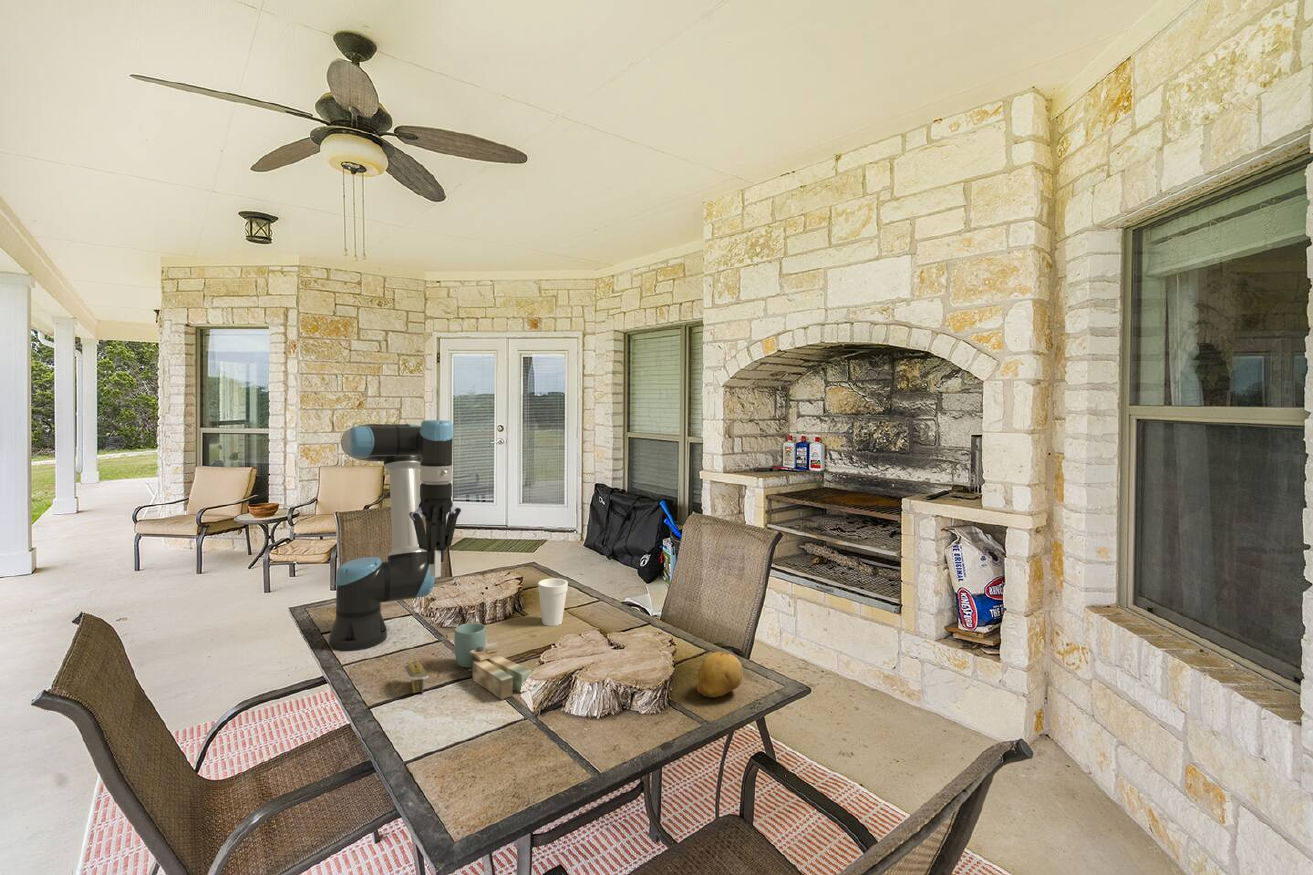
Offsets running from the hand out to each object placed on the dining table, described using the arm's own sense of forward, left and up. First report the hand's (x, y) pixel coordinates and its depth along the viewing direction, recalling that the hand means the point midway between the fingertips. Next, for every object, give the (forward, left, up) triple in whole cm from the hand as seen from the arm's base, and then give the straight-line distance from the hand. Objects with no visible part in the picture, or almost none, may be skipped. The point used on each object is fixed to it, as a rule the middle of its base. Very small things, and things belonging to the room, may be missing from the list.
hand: (435, 575), depth 151 cm
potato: (+57, +44, -27) cm, 77 cm away
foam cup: (-10, +47, -27) cm, 55 cm away
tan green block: (+12, +11, -26) cm, 31 cm away
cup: (-1, +11, -27) cm, 29 cm away
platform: (+1, -6, -27) cm, 28 cm away
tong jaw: (+13, +8, -26) cm, 30 cm away
